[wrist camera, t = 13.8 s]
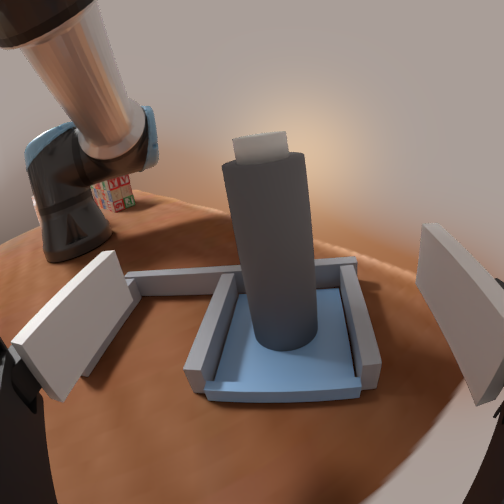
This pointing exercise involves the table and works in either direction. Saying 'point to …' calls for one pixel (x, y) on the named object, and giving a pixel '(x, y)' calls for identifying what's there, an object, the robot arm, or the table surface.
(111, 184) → the stack of blocks
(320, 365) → the grey frame
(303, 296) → the grey bottle
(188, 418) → the table surface
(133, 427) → the table surface
